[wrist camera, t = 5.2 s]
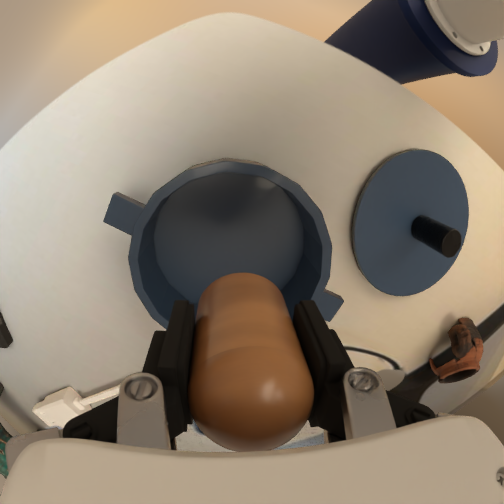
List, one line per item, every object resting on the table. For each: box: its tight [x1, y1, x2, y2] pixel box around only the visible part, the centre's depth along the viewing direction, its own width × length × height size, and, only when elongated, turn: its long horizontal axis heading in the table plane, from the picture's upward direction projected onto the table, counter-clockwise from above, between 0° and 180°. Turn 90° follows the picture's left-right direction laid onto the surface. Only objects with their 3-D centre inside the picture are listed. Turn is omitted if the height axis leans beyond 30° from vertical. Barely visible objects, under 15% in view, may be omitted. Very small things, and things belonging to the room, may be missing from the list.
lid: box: [352, 149, 469, 296], centre depth 25 cm, size 17×17×7 cm
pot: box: [103, 158, 344, 330], centre depth 25 cm, size 16×21×6 cm
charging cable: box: [32, 385, 120, 428], centre depth 31 cm, size 5×32×3 cm, turn 118°
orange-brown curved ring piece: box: [429, 318, 483, 383], centre depth 34 cm, size 12×10×8 cm
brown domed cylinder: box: [187, 273, 314, 452], centre depth 10 cm, size 4×4×7 cm
